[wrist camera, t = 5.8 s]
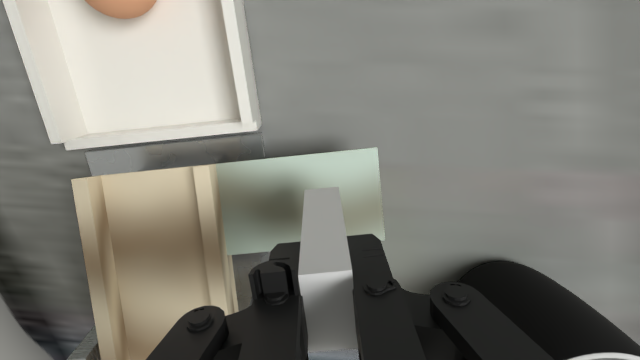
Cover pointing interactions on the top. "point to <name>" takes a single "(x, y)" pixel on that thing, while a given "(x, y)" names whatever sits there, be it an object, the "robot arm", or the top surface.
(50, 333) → the top surface
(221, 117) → the dish
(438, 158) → the top surface
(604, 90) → the top surface
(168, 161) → the stand
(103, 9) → the ball
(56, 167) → the top surface
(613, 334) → the mug
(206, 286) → the wooden ramp
